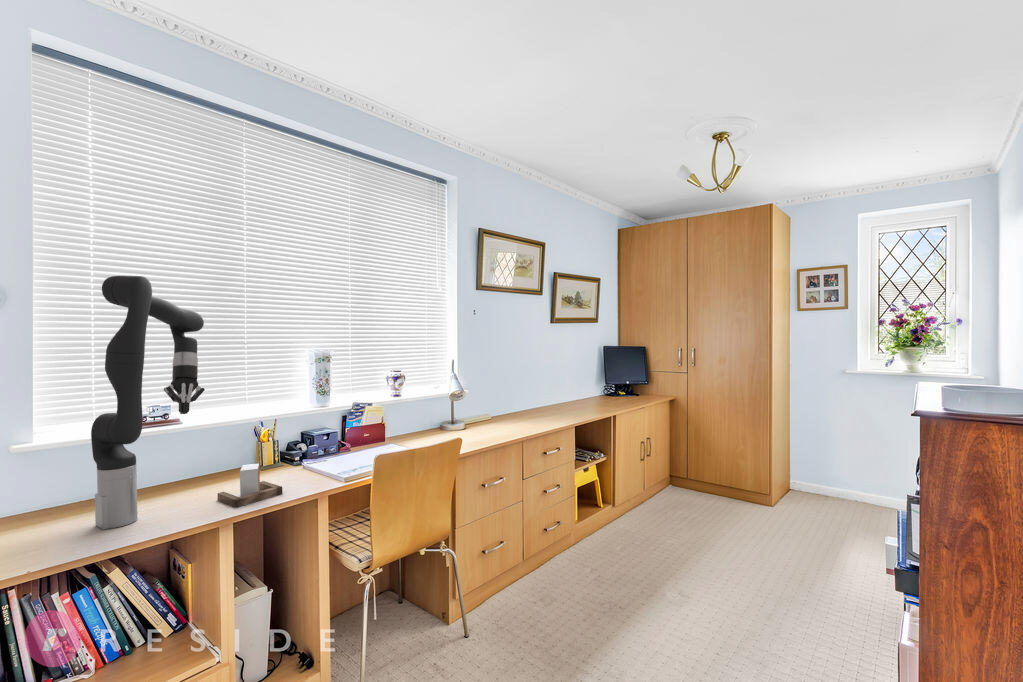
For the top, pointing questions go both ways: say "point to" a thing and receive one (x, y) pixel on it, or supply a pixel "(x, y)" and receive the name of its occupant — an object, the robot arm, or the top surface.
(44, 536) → the top surface
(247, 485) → the small box
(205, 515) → the top surface
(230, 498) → the walnut bay
